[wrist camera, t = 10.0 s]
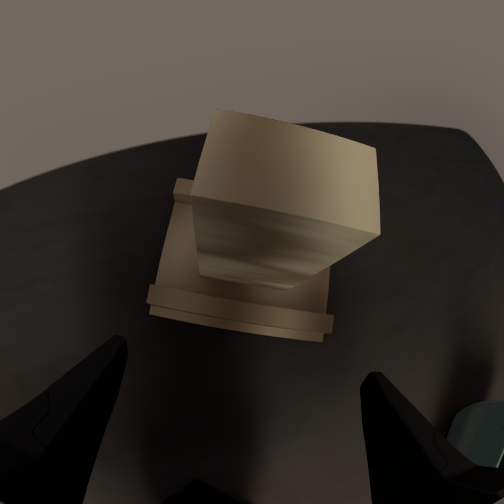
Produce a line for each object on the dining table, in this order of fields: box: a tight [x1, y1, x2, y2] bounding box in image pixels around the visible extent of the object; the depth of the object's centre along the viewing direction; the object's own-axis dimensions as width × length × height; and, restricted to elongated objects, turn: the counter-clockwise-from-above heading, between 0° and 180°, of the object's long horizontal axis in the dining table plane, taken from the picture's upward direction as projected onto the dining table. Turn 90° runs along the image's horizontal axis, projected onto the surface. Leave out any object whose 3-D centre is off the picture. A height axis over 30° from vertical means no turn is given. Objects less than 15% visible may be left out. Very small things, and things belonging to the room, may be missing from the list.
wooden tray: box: [146, 178, 334, 342], centre depth 20 cm, size 12×10×2 cm
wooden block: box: [190, 109, 380, 291], centre depth 15 cm, size 6×4×12 cm, turn 82°
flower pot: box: [446, 400, 504, 468], centre depth 15 cm, size 9×9×9 cm
